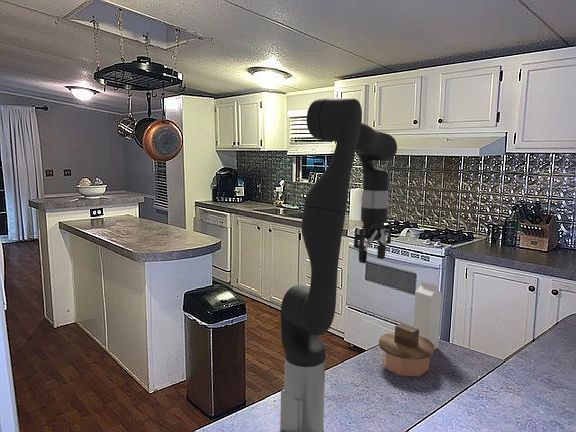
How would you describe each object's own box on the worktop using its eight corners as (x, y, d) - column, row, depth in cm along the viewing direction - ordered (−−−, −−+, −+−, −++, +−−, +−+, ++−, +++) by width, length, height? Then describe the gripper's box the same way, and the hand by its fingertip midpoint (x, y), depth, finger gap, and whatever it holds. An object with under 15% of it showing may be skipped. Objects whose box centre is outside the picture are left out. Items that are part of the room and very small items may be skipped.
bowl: (411, 380, 120) (412, 360, 120) (375, 363, 130) (376, 345, 129) (435, 366, 129) (436, 347, 128) (399, 351, 138) (400, 334, 137)
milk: (427, 352, 138) (431, 287, 134) (411, 345, 143) (415, 282, 139) (438, 347, 141) (442, 283, 138) (422, 341, 146) (426, 279, 143)
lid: (414, 364, 117) (415, 344, 116) (367, 344, 129) (368, 325, 128) (444, 348, 128) (445, 329, 127) (398, 331, 139) (399, 313, 139)
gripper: (369, 208, 116) (366, 267, 118) (400, 205, 125) (397, 259, 127) (348, 206, 121) (346, 261, 123) (379, 202, 130) (376, 254, 133)
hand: (372, 260), depth 125 cm, fingers open, 8 cm apart
